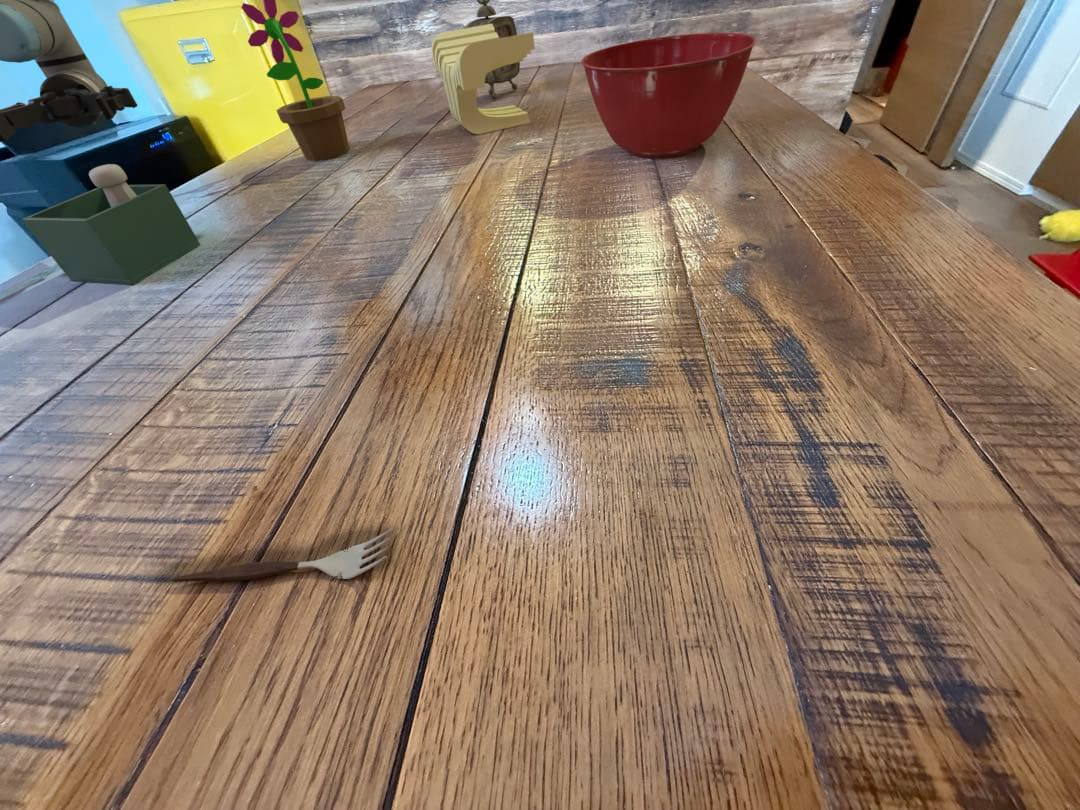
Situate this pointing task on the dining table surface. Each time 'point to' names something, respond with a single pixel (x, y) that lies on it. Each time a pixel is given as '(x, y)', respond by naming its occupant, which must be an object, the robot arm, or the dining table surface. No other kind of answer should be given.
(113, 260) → the waste bin
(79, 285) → the dining table surface
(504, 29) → the tabletop clock
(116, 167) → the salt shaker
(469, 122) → the slatted curved stool
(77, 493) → the dining table surface
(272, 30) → the flowerpot
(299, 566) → the fork
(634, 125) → the mixing bowl
